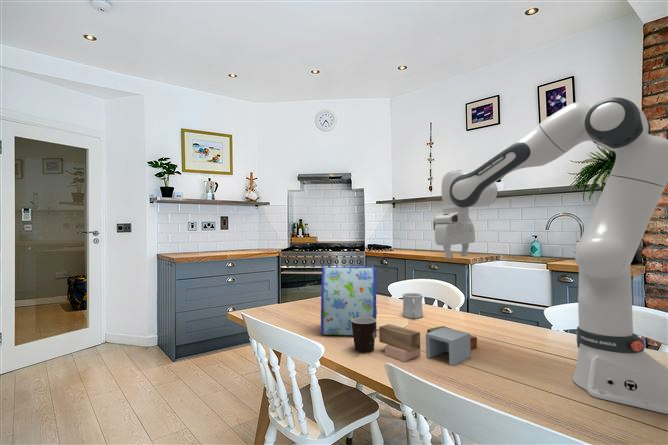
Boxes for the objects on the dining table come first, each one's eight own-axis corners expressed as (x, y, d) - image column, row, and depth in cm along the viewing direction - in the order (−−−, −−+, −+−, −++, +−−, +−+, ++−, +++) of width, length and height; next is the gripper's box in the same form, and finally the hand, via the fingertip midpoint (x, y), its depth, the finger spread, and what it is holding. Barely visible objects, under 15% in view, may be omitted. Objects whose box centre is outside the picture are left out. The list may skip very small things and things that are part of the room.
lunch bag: (377, 325, 150) (376, 263, 150) (378, 338, 133) (376, 268, 133) (325, 325, 152) (323, 264, 152) (319, 337, 135) (318, 269, 135)
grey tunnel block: (470, 357, 112) (470, 333, 112) (452, 365, 106) (452, 340, 106) (444, 349, 119) (444, 327, 119) (426, 357, 113) (425, 333, 113)
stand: (420, 355, 115) (420, 346, 115) (404, 361, 110) (404, 352, 110) (401, 349, 121) (400, 340, 121) (385, 354, 116) (384, 345, 116)
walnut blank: (389, 338, 123) (389, 324, 123) (420, 347, 113) (419, 332, 113) (379, 341, 120) (379, 326, 120) (410, 351, 110) (410, 335, 110)
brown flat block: (459, 353, 117) (458, 340, 117) (426, 339, 131) (426, 328, 131) (477, 349, 120) (477, 336, 120) (443, 336, 135) (443, 324, 135)
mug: (402, 313, 168) (401, 292, 168) (422, 314, 167) (421, 292, 167) (403, 320, 156) (403, 298, 156) (425, 321, 155) (424, 298, 155)
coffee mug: (363, 343, 127) (362, 315, 127) (382, 349, 121) (381, 319, 121) (340, 352, 119) (339, 322, 119) (359, 358, 113) (358, 327, 113)
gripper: (463, 217, 134) (464, 254, 134) (430, 218, 121) (432, 259, 120) (479, 217, 129) (480, 255, 129) (447, 217, 116) (448, 260, 116)
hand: (456, 257), depth 124 cm, fingers open, 8 cm apart
